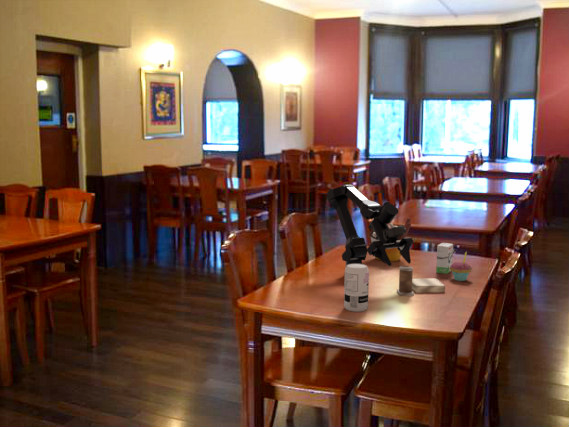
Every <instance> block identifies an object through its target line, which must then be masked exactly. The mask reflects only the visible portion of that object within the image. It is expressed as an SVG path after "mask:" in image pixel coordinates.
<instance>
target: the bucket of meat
mask: <svg viewBox="0 0 569 427" xmlns="http://www.w3.org/2000/svg"><path fill="white" fill-rule="evenodd" d="M403 225H404V227H405V228H406V233H404V235H401V236H399V239H398V240H397V242H400V241H401V240H402V238H407V235H408V233H409V230H410V228H411V226H412V223H411V218H410V217H407V218H406V220H405V223H404V224H403ZM388 226H389V228H393V227H398V226H397V225H394V223H393V222H391V223H389V224H388ZM369 234H370V241H371V243H372V242H373V241H379V240H376V237H377V235H376V233H375V231H374V230H373V229H370V231H369ZM399 252H400V251H399V250H398V248H390V249H386V253H387V255H388V257H389V259H390V262H391V263H392V262H393V263H394V262H398V261H400V259H401V257H402V255H401V254H400V253H399ZM374 258H375V259H376V260H378V261H380V262H382V261H381V260H380V259H378V258H376V257H375V256H374Z"/></svg>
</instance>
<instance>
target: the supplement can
mask: <svg viewBox="0 0 569 427" xmlns="http://www.w3.org/2000/svg"><path fill="white" fill-rule="evenodd" d="M369 281H370V270H369V268H368V265H366V264H363V263H362V264H348V265H347V266H346V265H345V268H344V282H343V283H344V285H343V288H344V289H343V290H344V291H343V292H344V294H343V296H344V297H343V300H344V301H343V307H344V308H345V310H347V311H350V312H355V313H357V312H359V313H360V312H361V313H362V312H364V311H367V309H369V287H370V286H369V283H370V282H369Z"/></svg>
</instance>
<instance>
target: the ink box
mask: <svg viewBox="0 0 569 427" xmlns="http://www.w3.org/2000/svg"><path fill="white" fill-rule="evenodd" d="M436 249H437V250H436V269H435V273H436V274H437V273H438V274H446V275H448V274H449V273H451V272H452V271H451V270H450V266H451V265H452V264H453V261H454V260H453V259H454V256H453V255H454V244H453V243H449V242H441V243H439V244H437V246H436Z"/></svg>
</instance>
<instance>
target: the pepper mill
mask: <svg viewBox="0 0 569 427" xmlns="http://www.w3.org/2000/svg"><path fill="white" fill-rule="evenodd" d="M398 269H399V272H398V273H399V278H398V288H397V289H396V293H397V294H398V295H399V296H401V297H403V296H405V297H409V296H412V297H413V296H415V291H414V290H413V289H412V279H413V274H414V273H413V272H414V267H412V266H410V265H409V266H408V265H401V266H399V268H398Z"/></svg>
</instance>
